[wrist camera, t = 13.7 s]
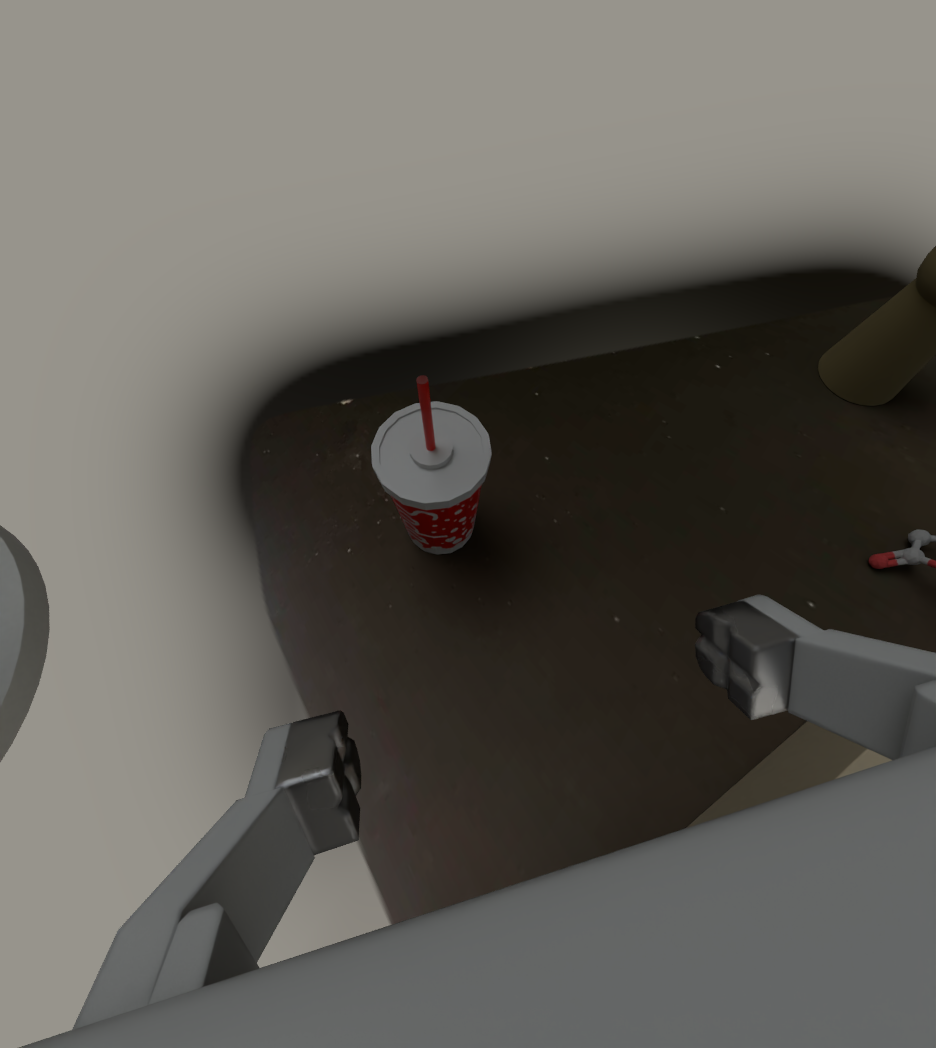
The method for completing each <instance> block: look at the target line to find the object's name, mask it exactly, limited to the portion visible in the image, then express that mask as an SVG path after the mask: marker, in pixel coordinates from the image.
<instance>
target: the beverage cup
mask: <svg viewBox="0 0 936 1048" xmlns="http://www.w3.org/2000/svg"><path fill="white" fill-rule="evenodd" d="M417 387H418V394H419V401H420V403H416V404H413V405H411V406H409V407H406V408H404V409H402V410H399V411H397V412H395V413H394V414H393V415H392V416H391V417H390V418H389V419H388V420H386V421H385V422H384V423H383V424H382V425H381V426H380V427H379V429H378V432H377V434H376V436H375V438H374V441H373V443H372V445H371V451H372V467H373V469H374V471H375V473H376V475H377V477H378V479H379V481H380V483H381V484H382V486H383V488H384V490H385V492H387V493H388V494H389V495H391V497H392V499H393V501H394V503H395V505H396V508H397V510H398V512H399V514H400V516H401V518H402V521H403V523H404V525H405V527H406V529H407V531H408V533H409V535H410V537H411V539H412V541H413V542H414V544H415V545H417V546H418V547H419V548H421V549H422V550H423V551H425V552H429V553H433V554H437V555H438V554H447V553H452V552H454V551H456V550H457V549H459V548H461V547H463V546H464V544H465V543H466V542H467V541H468V540H469V539H470V537H471V534H472V531H473V528H474V524H475V518H476V513H477V507H478V502H479V496H480V490H481V485H482V483H483V482H484V481H485V478H486V475H487V471H488V468H489V465H490V460H491V455H492V453H491V447H490V441H489V435H488V433H487V431H486V430H485V429H484V427H483V426H482V424H481V423H480V421H479V420H478V419H477V417H475V416H473V415H472V414H470V413H469V412H467V411H466V410H464V409H462V408H461V407H459V406H455V405H451V404H447V403H442V402H438V401H437V402H430V393H429V384H428V378H427V377H426V376H419V377H418V378H417Z"/></svg>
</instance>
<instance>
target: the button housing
mask: <svg viewBox="0 0 936 1048" xmlns="http://www.w3.org/2000/svg"><path fill="white" fill-rule="evenodd" d="M889 761H892V760H891V759H889V758H887V757H885V756H882V755H880V754H878V753H876V752H874V751H872V750H869V749H867V748H865V747H863V746H861V745H859V744H856V743H854V742H852V741H850V740H848V739H845V738H843V737H841V736H839V735H837V734H835V733H832V732H830V731H828V730H826V729H824V728H822V727H819V726H817V725H815V724H813V723H811V722H809V721H807V722H806V723H805V724H804V725H803V726H801V727H800V728H799V729H798V730H797V731H796V732H795V733H793V734H792V735H791V736H790V737H789V738H788V739H787V740H785V741H784V742H783V743H782V744H781V745H780V746H779V747H778V748H776V749H775V750H774V751H773V752H772V753H771V754H770V755H768V756H767V757H766V758H765V759H764V760H763V761H762V762H760V763H759V764H758V765H757V766H756V767H755V768H754V769H752V770H751V771H750V772H749V773H748V774H747V775H746V776H744V777H743V778H742V779H741V780H740V781H739V782H738V783H736V784H735V785H734V786H733V787H732V788H731V789H730V790H728V791H727V792H726V793H725V794H724V795H723V796H722V797H721V798H719V799H718V800H717V801H716V802H715V803H714V804H713V805H711V806H710V807H709V808H708V809H707V810H706V811H705V812H703V813H702V814H701V815H700V816H699V817H698V818H697V819H695V820H694V821H693V822H692V823H691V824H690V825H689V826H687V827H686V828H688V827H691V826H694V825H697V824H700V823H703V822H706V821H709V820H712V819H715V818H719V817H722V816H725V815H728V814H731V813H734V812H737V811H740V810H743V809H746V808H749V807H752V806H755V805H758V804H761V803H764V802H767V801H770V800H773V799H776V798H779V797H782V796H785V795H788V794H792V793H795V792H798V791H801V790H804V789H807V788H810V787H813V786H816V785H819V784H822V783H825V782H828V781H831V780H834V779H837V778H840V777H843V776H846V775H849V774H852V773H855V772H858V771H862V770H865V769H868V768H871V767H874V766H877V765H880V764H883V763H886V762H889Z"/></svg>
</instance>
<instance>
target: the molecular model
mask: <svg viewBox="0 0 936 1048" xmlns="http://www.w3.org/2000/svg"><path fill="white" fill-rule="evenodd" d="M908 541H909V542H910V543H911V544H912V547H911V548H907V549H905V550H899V551H894V552H888V553H882V554H875V555H872V556H871V557H870V558H869V564H870V565H871V566H872V567H873V568H876V569H883V568H885V567H892V566H898V565H904V564H909V565H917V564H920V563H922V564H925V565H928V566H931V567H934V568H936V561H935V560H932V559H929V558H926V557H925V556H924V553H923V552H922V551H921V550H920V547H921V546H924V545H928V544H929V543H930V542H936V536H931V535H930V534H929V533H928V532H927V531H924V530H915V531H913V532H911V533H910V534H909V535H908ZM899 557H901V558H900V559H894V560H888V559H893V558H899Z"/></svg>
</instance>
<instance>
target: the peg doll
mask: <svg viewBox="0 0 936 1048" xmlns="http://www.w3.org/2000/svg"><path fill="white" fill-rule="evenodd" d="M935 355H936V246H935V247H934V248H933V249H932V251H931V252H930V253H929V254H928V255H927V256H926V258H925V259H924V261H923V262H922V264H921V265H920V267H919V269H918V273H917V278H916V279H915V280H914V281H912V282H911V283H910V284H909V285H907V286H906V287H905V288H904V289H903V290H901V291H900V292H899V293H898V294H897V295H895V296H894V297H893V298H892V299H890V300H889V301H888V302H887V303H886V304H884V305H883V306H882V307H881V308H879V309H878V310H877V311H876V312H875V313H873V314H872V315H871V316H870V317H868V318H867V319H866V320H865V321H864V322H862V323H861V324H860V325H859V326H857V327H856V328H855V329H854V330H853V331H851V332H850V333H849V334H848V335H847V336H845V337H844V338H843V339H842V340H840V341H839V342H838V343H837V344H836V345H834V346H833V347H832V348H831V349H829V350H828V351H827V352H826V353H825V354H824V355H823V356H822V357H821V359H820V360H819V365H818V371H819V374H820V378H821V379H822V381H823V382H824V383H825V385H826V386H827V387H828V388H829V389H830V390H831V391H832V392H834V393H835V394H836V395H838V396H839V397H841V398H843V399H845V400H847V401H849V402H852V403H856V404H859V405H867V406H876V405H881V404H885V403H886V402H888V401H890V400H891V399H893V398H894V397H895V396H896V395H897V394H898V393H899V392H900V391H901V390H902V388H903V387H904V386H905V385H906V384H907V383H908V382H909V381H910V380H911V379H912V378H913V377H914V376H915V375H916V374H917V373H918V372H919V371H920V370H921V369H922V368H923V367H924V366H925V365H926V364H927V363H928V362H929V361H930V360H931V359H932V358H933V357H934V356H935Z"/></svg>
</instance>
